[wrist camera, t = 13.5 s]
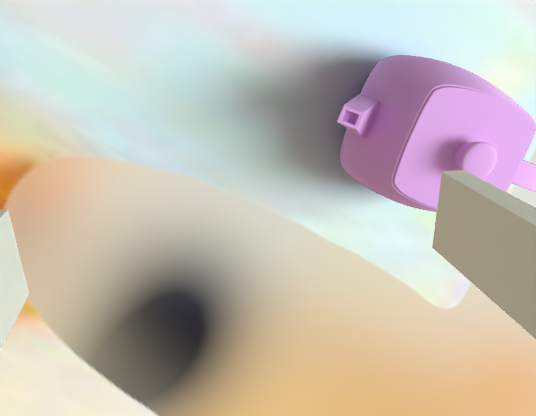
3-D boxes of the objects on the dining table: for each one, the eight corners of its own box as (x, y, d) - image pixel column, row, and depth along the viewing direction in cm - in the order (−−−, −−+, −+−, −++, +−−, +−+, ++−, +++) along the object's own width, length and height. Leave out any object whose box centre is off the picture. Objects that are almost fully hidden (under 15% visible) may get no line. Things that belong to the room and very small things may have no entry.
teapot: (510, 93, 46) (623, 118, 35) (454, 207, 50) (539, 264, 38) (329, 21, 41) (393, 23, 29) (281, 156, 44) (320, 205, 33)
